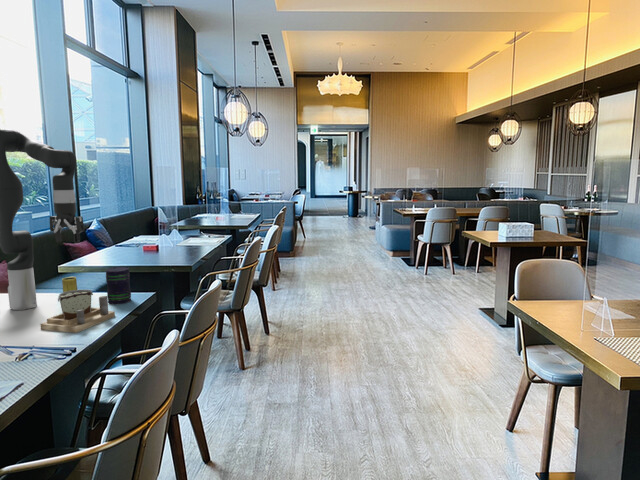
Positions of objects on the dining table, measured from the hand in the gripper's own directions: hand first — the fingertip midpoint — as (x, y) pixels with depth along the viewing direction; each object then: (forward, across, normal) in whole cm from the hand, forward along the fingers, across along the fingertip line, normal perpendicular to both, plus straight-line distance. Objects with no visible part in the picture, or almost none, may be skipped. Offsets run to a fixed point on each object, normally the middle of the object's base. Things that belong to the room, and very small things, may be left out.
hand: (68, 242), depth 179 cm
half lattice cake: (+28, +7, -7) cm, 30 cm away
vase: (+30, -5, +4) cm, 31 cm away
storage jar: (+30, +4, +22) cm, 38 cm away
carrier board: (+30, +9, -7) cm, 32 cm away
